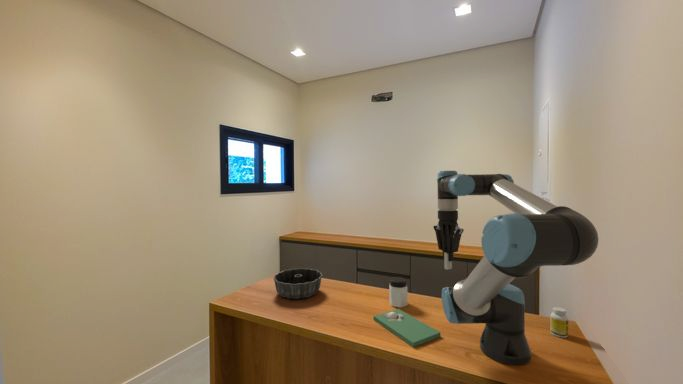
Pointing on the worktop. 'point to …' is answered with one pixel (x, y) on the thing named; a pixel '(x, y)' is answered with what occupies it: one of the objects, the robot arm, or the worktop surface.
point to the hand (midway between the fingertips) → (448, 268)
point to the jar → (398, 292)
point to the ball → (392, 315)
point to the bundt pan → (298, 283)
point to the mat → (407, 327)
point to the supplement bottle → (559, 322)
